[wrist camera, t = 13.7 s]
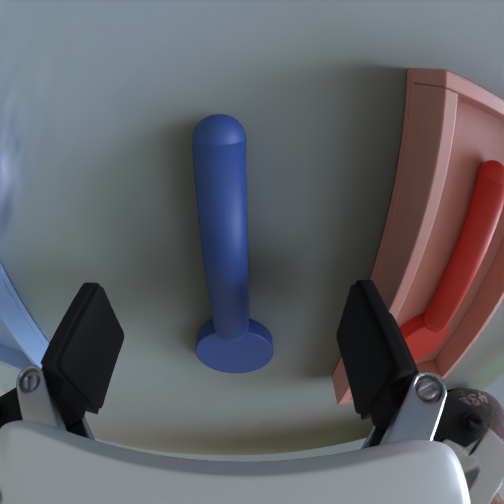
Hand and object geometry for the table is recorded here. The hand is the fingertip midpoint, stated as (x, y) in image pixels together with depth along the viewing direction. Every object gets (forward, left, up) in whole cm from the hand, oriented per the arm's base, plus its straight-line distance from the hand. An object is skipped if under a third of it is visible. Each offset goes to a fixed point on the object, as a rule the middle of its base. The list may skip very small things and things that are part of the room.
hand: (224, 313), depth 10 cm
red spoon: (0, +11, -2) cm, 11 cm away
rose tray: (0, +11, -2) cm, 11 cm away
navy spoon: (0, 0, -2) cm, 2 cm away
